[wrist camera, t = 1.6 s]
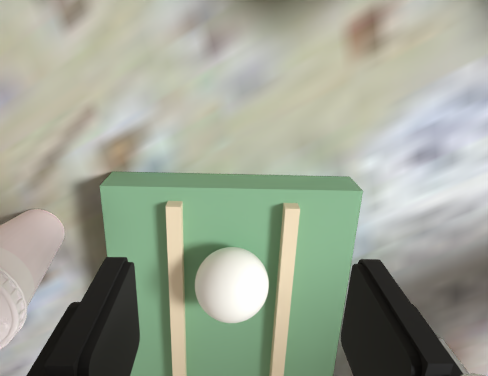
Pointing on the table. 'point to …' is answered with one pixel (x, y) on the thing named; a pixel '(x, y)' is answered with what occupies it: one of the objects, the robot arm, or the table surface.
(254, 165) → the table surface
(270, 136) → the table surface
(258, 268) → the ball
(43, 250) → the smoothie
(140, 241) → the green
